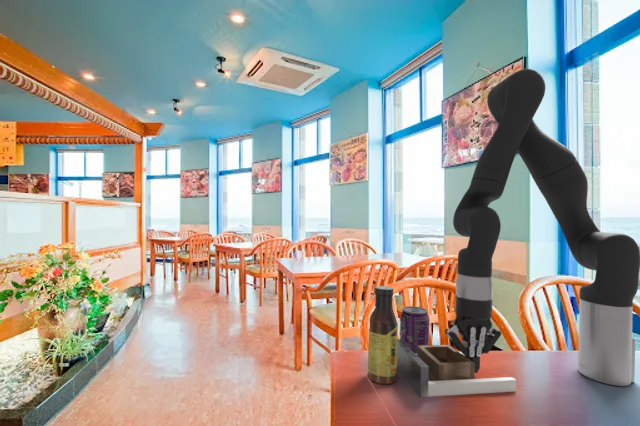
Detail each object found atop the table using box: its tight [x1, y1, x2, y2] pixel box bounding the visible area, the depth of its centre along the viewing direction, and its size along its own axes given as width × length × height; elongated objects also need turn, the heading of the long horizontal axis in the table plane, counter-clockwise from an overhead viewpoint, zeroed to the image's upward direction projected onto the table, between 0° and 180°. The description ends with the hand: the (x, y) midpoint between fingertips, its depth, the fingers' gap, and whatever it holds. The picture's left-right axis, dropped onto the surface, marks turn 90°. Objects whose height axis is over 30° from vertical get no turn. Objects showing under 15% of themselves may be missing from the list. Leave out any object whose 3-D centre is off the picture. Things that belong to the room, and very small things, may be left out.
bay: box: [397, 338, 517, 398], centre depth 72 cm, size 21×14×6 cm
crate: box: [417, 344, 476, 381], centre depth 72 cm, size 8×10×5 cm
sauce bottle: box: [367, 285, 399, 385], centre depth 71 cm, size 7×6×20 cm
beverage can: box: [399, 305, 430, 353], centre depth 83 cm, size 7×7×12 cm
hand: (471, 371), depth 73 cm, fingers closed
